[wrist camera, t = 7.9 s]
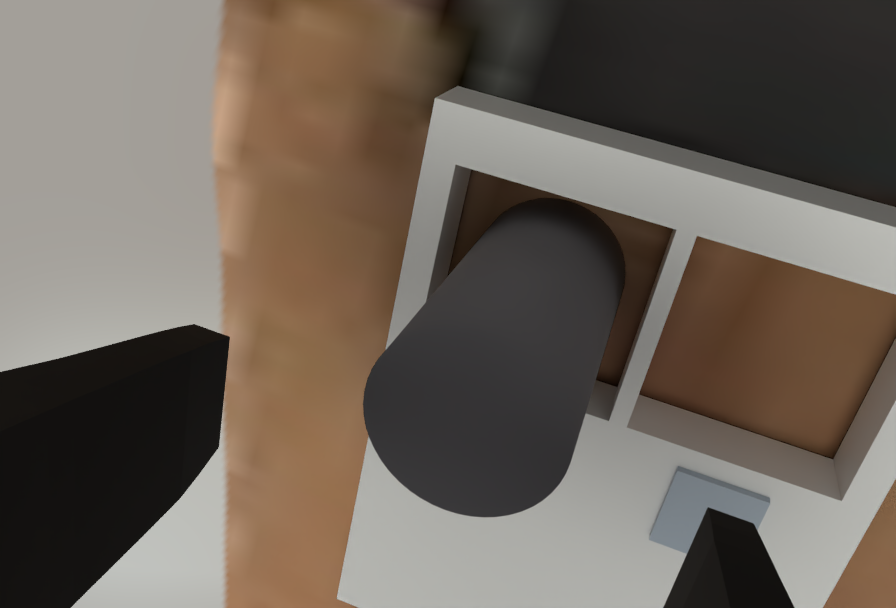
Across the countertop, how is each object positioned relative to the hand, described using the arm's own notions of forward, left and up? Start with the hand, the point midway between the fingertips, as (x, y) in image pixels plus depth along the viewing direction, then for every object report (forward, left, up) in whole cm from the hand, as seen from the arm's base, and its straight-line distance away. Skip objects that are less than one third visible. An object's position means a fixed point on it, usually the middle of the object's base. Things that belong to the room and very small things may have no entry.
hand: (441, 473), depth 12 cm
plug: (0, 0, -8) cm, 8 cm away
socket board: (-3, -2, -8) cm, 9 cm away
